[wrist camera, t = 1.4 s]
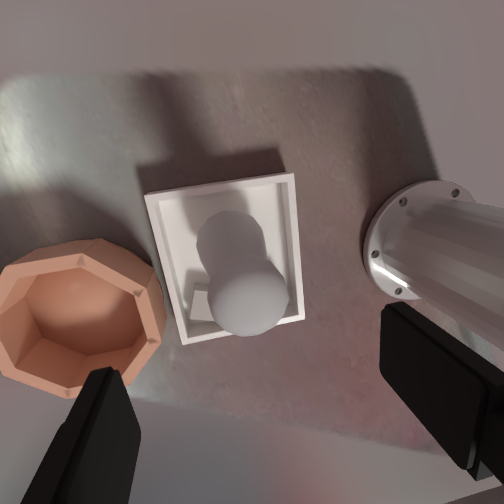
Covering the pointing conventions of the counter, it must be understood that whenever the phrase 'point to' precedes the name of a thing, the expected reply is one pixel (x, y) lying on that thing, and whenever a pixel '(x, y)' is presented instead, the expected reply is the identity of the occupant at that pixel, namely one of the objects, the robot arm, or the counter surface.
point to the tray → (193, 218)
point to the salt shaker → (240, 274)
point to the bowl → (78, 315)
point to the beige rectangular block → (200, 303)
